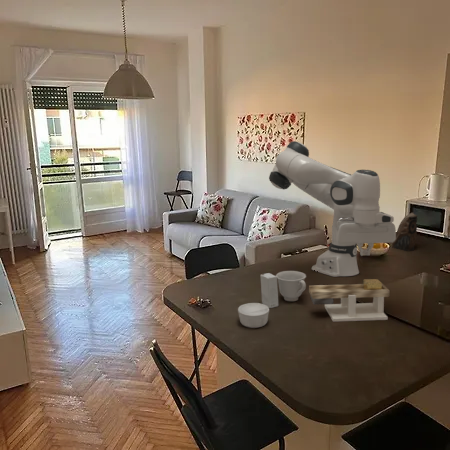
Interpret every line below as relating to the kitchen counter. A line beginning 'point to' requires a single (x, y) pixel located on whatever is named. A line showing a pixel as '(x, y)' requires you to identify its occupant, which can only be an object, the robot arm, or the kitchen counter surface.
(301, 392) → the kitchen counter surface
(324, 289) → the beam
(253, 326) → the ramekin
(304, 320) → the kitchen counter surface
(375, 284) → the tan rectangular block
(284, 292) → the teacup
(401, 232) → the owl
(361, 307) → the pivot stand
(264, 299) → the skincare box
